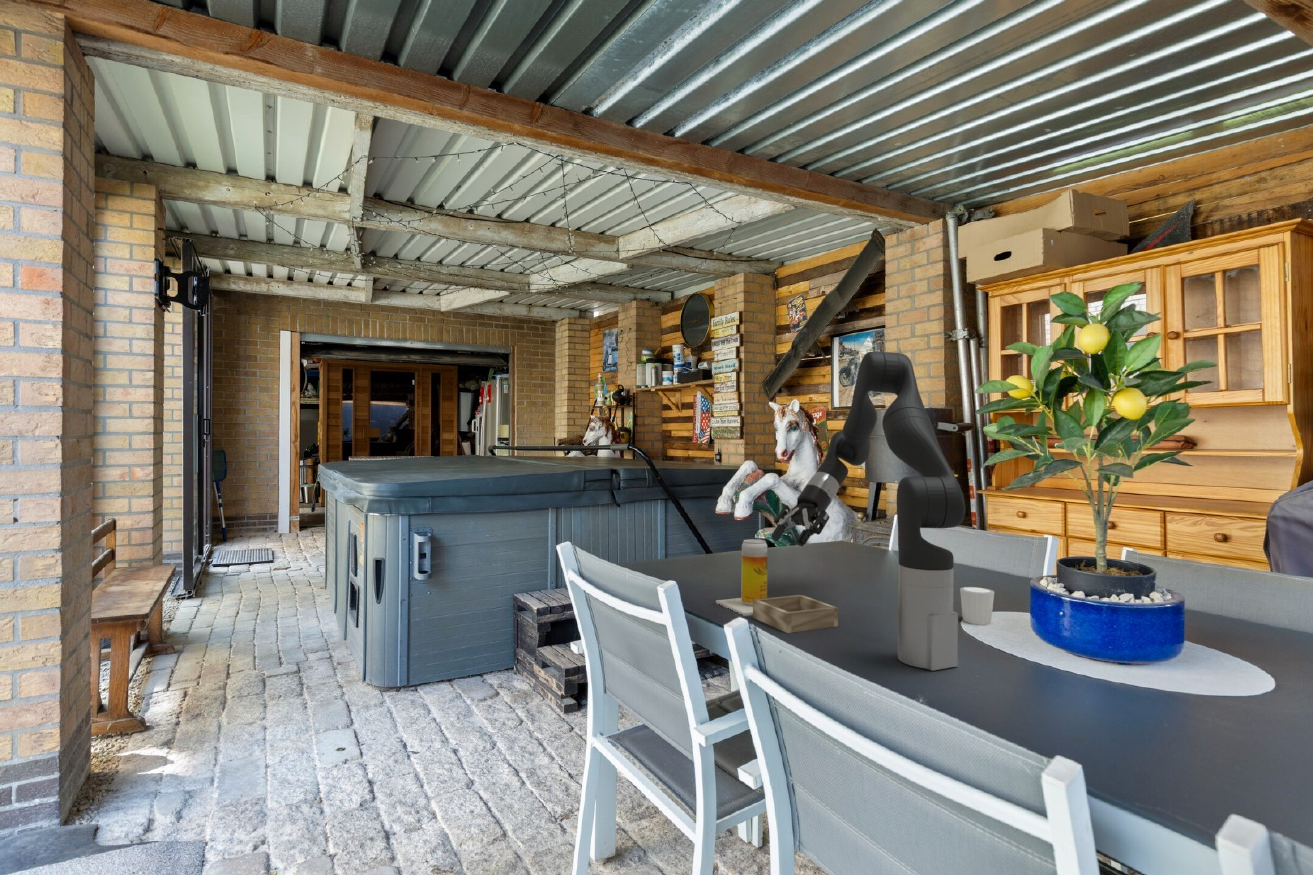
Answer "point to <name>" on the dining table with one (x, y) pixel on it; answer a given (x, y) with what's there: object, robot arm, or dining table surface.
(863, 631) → the dining table surface
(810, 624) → the crate
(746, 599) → the beer can
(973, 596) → the white cup
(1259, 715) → the dining table surface
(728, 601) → the mat
